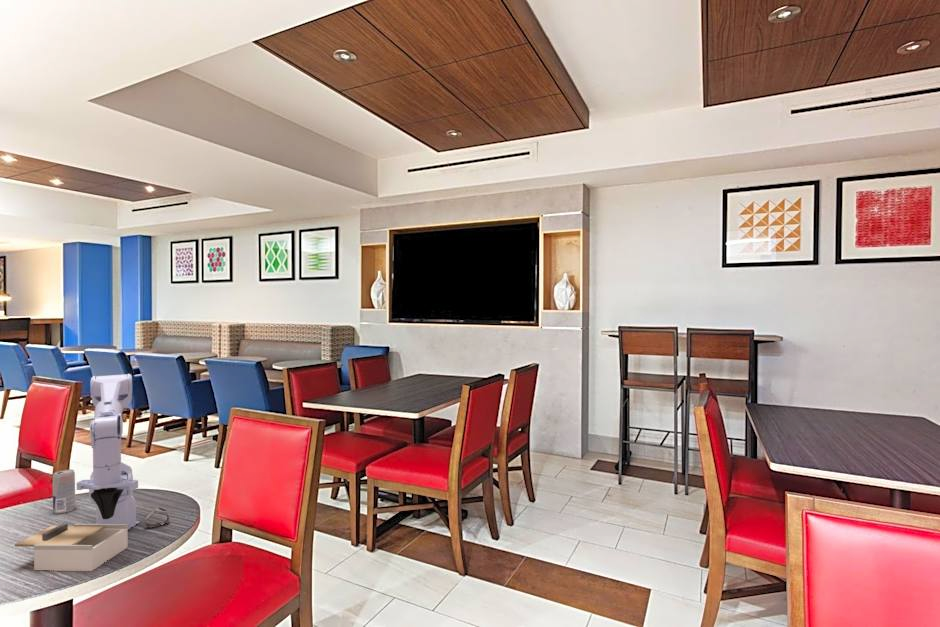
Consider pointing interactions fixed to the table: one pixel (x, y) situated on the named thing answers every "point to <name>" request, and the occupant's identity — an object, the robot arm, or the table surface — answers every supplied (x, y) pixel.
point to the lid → (60, 535)
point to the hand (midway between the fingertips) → (108, 517)
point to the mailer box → (83, 550)
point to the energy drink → (63, 491)
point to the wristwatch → (153, 513)
